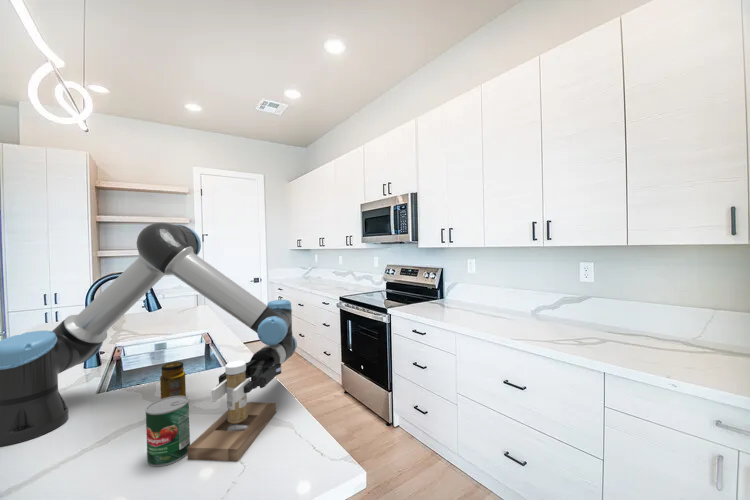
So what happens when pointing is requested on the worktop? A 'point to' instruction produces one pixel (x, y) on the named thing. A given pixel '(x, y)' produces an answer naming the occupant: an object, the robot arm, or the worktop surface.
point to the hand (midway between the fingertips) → (223, 396)
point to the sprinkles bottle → (234, 379)
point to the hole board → (231, 435)
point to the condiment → (172, 380)
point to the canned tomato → (167, 430)
